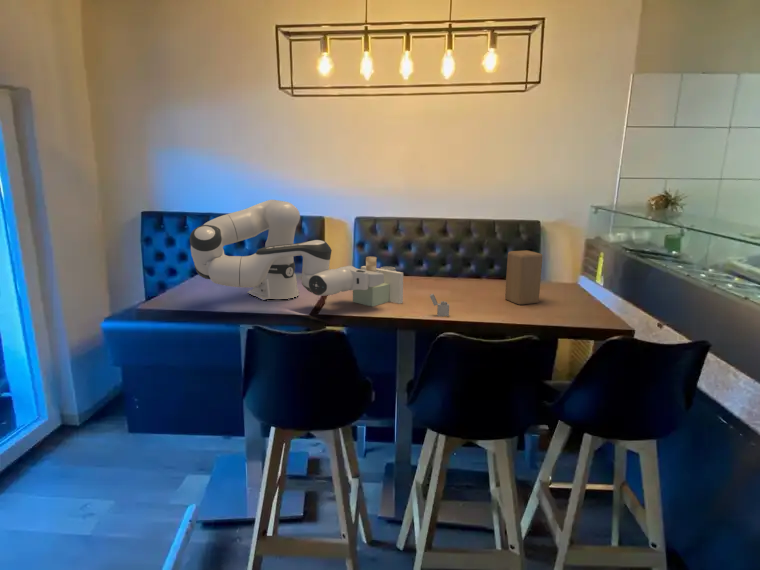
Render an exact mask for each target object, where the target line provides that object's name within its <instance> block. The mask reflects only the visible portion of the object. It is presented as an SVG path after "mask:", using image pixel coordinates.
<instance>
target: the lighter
mask: <svg viewBox="0 0 760 570" xmlns="http://www.w3.org/2000/svg"><path fill="white" fill-rule="evenodd" d="M429 298H430V299H431V302H432V304H433V306H434V307H435V306H437V310H436V312H437V314H436V316H437V317H444V316H449V317H450V304H449V303H448V302H447V301H445V300H444V301H440V303H438V300H437V298H436V296H435V294H434V293H431V294H429Z"/></svg>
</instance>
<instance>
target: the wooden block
mask: <svg viewBox="0 0 760 570" xmlns="http://www.w3.org/2000/svg"><path fill="white" fill-rule="evenodd" d="M542 265H543V254H542V253H539V252H535V251H532V250H525V249H524V250H511V251H508V253H507V263H506V277H505V292H504V298H505V300H507V301H508V302H511V303H513V304H517V305H519V306H521V305H530V304H537V303H539V302H540V292H541V291H540V290H541V280H542V279H541V278H542Z"/></svg>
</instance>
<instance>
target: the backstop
mask: <svg viewBox="0 0 760 570" xmlns="http://www.w3.org/2000/svg"><path fill="white" fill-rule="evenodd" d="M360 269H362V270H364V269H366V265H363V266H360ZM376 271H378V272H379V273H383V274H384V282H383V283H387V284H389V302H390V303H395V304H402V303H403V302H404V272H403V271H402V272H401V271H397V270H396V271H397V272H396V271H390V270H384V269H380V268H377V267H376Z"/></svg>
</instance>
